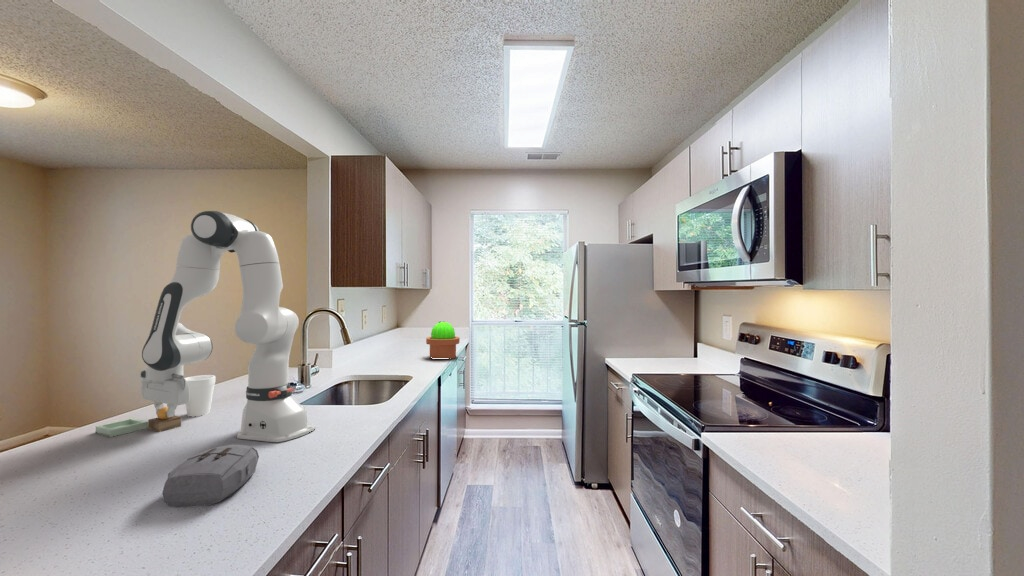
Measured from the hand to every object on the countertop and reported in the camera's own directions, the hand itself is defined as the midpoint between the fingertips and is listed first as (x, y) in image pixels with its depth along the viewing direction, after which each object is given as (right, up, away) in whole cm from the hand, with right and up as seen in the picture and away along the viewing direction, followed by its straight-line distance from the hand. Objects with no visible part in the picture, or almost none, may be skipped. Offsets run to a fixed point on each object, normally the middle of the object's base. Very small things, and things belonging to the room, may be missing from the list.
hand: (165, 415), depth 128 cm
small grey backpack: (+44, -4, -37) cm, 58 cm away
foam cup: (0, -4, +14) cm, 15 cm away
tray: (-11, -4, -3) cm, 12 cm away
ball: (0, +1, 0) cm, 1 cm away
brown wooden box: (0, -4, 0) cm, 4 cm away
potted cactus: (+66, -6, +139) cm, 154 cm away
